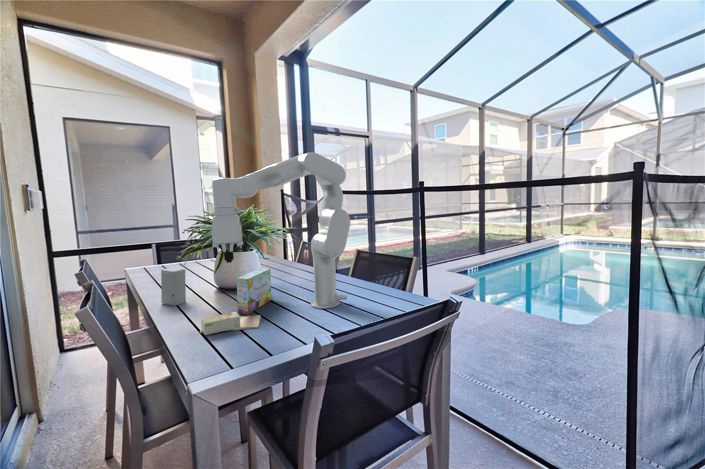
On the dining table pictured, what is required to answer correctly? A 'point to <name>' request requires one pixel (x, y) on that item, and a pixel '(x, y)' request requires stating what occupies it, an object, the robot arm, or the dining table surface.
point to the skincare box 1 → (173, 286)
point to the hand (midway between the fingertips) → (229, 261)
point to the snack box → (253, 290)
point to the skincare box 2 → (220, 323)
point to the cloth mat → (247, 322)
